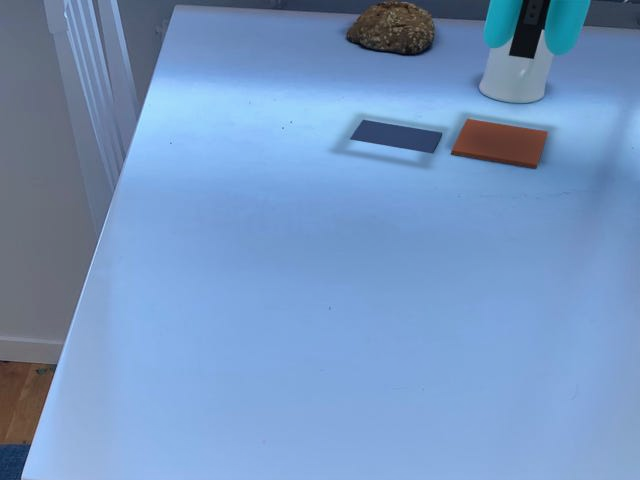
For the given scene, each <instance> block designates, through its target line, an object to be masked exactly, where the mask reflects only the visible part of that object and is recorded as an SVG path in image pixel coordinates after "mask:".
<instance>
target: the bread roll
mask: <svg viewBox="0 0 640 480" xmlns="http://www.w3.org/2000/svg"><path fill="white" fill-rule="evenodd" d="M432 16H433V15H432V14H431V12H429V11H428V10H425V9H423V8H421V7H420V6H418V5H416V4H414V3H411V2H407V1H397V0H387V1H381V2H380V1H379V2H378V3H376V5H375V4H373V5H372V6H370V7H368V8H367V9H366V10H365V11H363V12H362V13H360V15H359V16H358V18H356V20H355V22H353V23H352V25H351V26H350V27H349V28H348V29H347V30H346V33H345V35H346V39H348V40H349V41H350V42H351V43H354V44H360V45H361V46H363V47H365V48H367V49H372V50H374V51H383V52H392V53H396V54H400V55H415V54H418V53H421V52H423V51H425V50H426V49H427V48H428V47H430V46H431V45H433V43H434V41H435V37H436V36H435V35H436V34H435V33H436V31H435V29H436V27H435V23H434V20H433V18H432Z"/></svg>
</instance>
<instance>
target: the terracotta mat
mask: <svg viewBox="0 0 640 480" xmlns="http://www.w3.org/2000/svg"><path fill="white" fill-rule="evenodd" d="M548 134H549V131H547V130H541V129H536V128H530V127H529V128H528V127H523V126H518V125H517V126H516V125H510V124H505V123H498V122H493V121H486V120H478V119H474V118H466V120H465V122H464V124H463V127H462V129H461V130H460V132H459V134H458V136H457V138H456V141H455V143H454V145H453V147H452V149H451V152H450V155H453V156H460V157H465V158H470V159H476V160H482V161H488V162H494V163H501V164H505V165H506V164H507V165H512V166H519V167H524V168H530V169H535V170H536V169H537V168H538V165H539V162H540V159H541V157H542V153H543V150H544V146H545V143H546V140H547V137H548Z"/></svg>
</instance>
